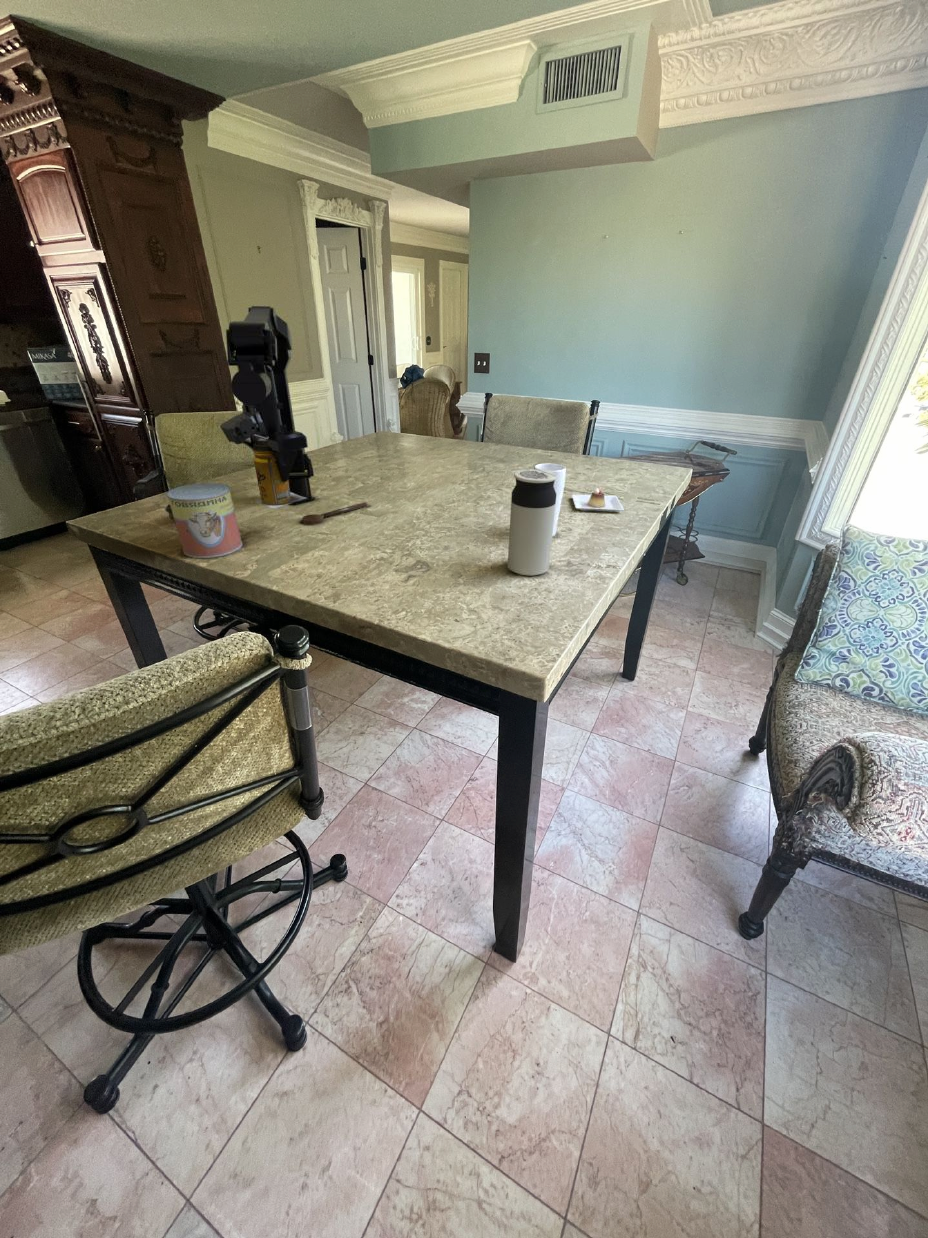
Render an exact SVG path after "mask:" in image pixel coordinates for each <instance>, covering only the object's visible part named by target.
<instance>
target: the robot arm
mask: <svg viewBox="0 0 928 1238" xmlns="http://www.w3.org/2000/svg"><path fill="white" fill-rule="evenodd" d="M247 312H248V314H247V315H246V316H245V318H244V320H239V321H237V320H236V321H230V322H229V323H228V328H226V329H225V336H226V337H225V338H226V355H227V365H228V367H236V366H237V372H235V374H234V375H233V376H232V379H231V385H230V387H231V388H230V389H231V391H232V394H233V395H234V397H235V399H237V400H238V401H239V402H240V403H242V404H241V409H242V412H241V413H240V414H237V415H235V416H233V417H231V418H229V419H228V420H225V421H224V422H223V423H221V424H220V425H219V427H220V429H221V431H222V433H223V434H224V436H225V437H226V439H227V441H228V442H229V443H234V444H235V445H242V444H243V445H244V446H247V448H250V450H252V452H253V453H254V448H253V444H254V443H256V442H259V441H269V445H270V447H271V448H272V449H267V451H268V452H269V453H270V454H272V455H273V456H274V458H275V461H276V464H277V468H278V471H279V474H280V477H281V480H282V482H286V481H288V482H289V488H290V492H291V493H294V494H296V495H299V496H302V497H306V499H302V500H300V501H297V502H293V503H290V505H299V504H304V503H307V502H311V501H314V500H316V497H314V496H313V495H312V490H311V483H310V479H311V478H312V477H315V472H314V467H313V463H312V459H311V458H310V457H309V454H308V453H306V448H308V447H309V445H308V438H307V436H306V435H305V434H304V433H303V432H301V431H296V426H295V419H294V412H293V406H292V399H291V393H290V392H291V391H290V387H289V380H288V374H287V369H288V368H289V365H290V362H291V359H292V353H291V352H292V351H293V350H294V349H293V340H292V335H291V332H290V328H289V325H288V323H287V322H286V321H285V320H283V318H281V317H280V316H278V314H277V312H276V309H275V308H274V307H271V306H270V305H252V306H250V307H248V311H247Z"/></svg>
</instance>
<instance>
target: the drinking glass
mask: <svg viewBox="0 0 928 1238" xmlns="http://www.w3.org/2000/svg"><path fill="white" fill-rule="evenodd" d="M533 470H544V471H549V472H552V473H554V474H556V476H557V478H556V480H555V482H554V486H553V487H554V489H555V492H556V504H555V514H554V523H553V533H552V538H553V537H555V536H556V534H557V527H558V522H559V517H560V516H559V515H560V511H561V506H562V500H563V496H564V491H565V485H566V474H567V467H566V466H564V465H562V464H558V463H548V462H547V463H539V464H536V465H534V467H533Z"/></svg>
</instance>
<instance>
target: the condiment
mask: <svg viewBox="0 0 928 1238" xmlns="http://www.w3.org/2000/svg"><path fill="white" fill-rule="evenodd" d="M253 448H254V452H253V454H254V457H253V465H254V469H255V474H256V480H257V487H258V491H259V495H260V496H259V497H260V498H258V499H253V501H254V502H256V503H258V504H261V505H263V506H265V507H267V508H270V509H278V508H281V507H285V506H287V505H291V503H293V502H297V501H300V500H302V499H306V497H302V496H299V495H296V494H294V493H291V492H290V488H289V482H288V481H286V482H282V480H281V477H280V474H279V471H278V468H277V464H276V461H275V458H274V456H273V455H272V454H270V453H269V452H268V451H267V449H272V448H271V447H270V445H269V441H259V442H256V443H254V444H253Z"/></svg>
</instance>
